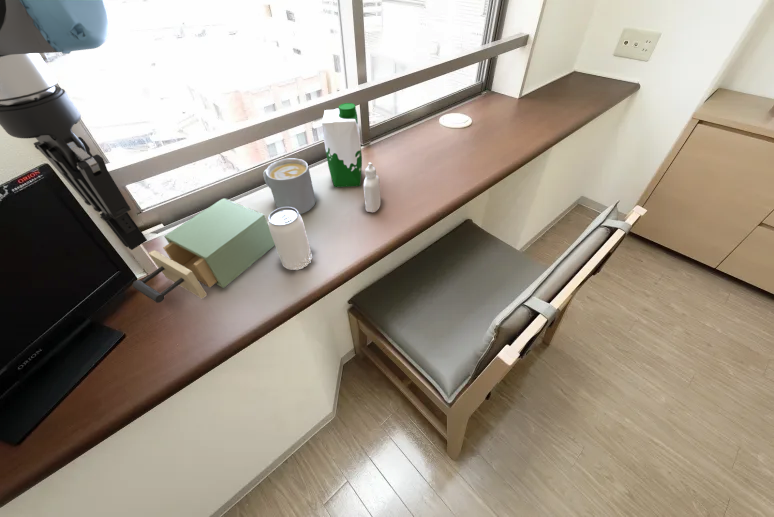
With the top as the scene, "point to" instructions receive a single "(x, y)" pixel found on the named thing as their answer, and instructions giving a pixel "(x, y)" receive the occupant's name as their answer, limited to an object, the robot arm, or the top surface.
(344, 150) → the milk carton
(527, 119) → the top surface
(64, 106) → the robot arm
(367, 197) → the eye dropper bottle
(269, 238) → the cabinet
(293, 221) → the can
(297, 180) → the coffee mug
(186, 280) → the drawer
